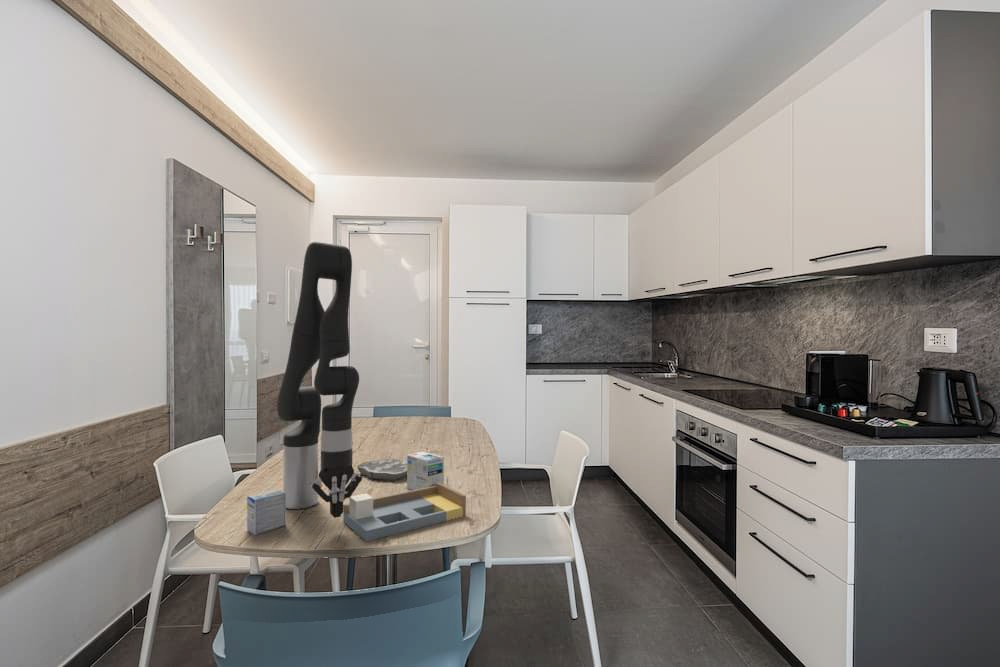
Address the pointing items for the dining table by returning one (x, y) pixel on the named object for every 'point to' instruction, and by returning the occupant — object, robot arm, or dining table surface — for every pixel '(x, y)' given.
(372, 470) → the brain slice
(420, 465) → the light bulb box
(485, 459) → the dining table surface
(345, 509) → the trap deck
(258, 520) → the medicine box
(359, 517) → the ivory block
